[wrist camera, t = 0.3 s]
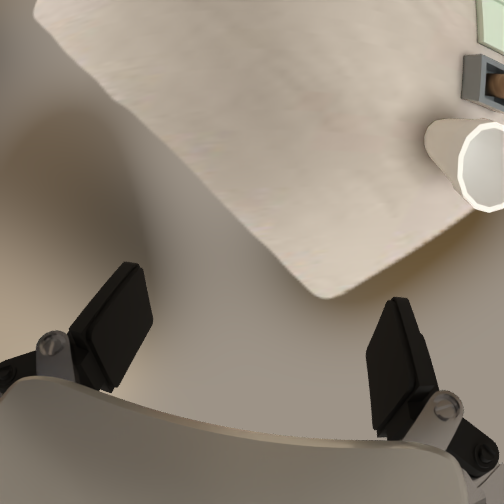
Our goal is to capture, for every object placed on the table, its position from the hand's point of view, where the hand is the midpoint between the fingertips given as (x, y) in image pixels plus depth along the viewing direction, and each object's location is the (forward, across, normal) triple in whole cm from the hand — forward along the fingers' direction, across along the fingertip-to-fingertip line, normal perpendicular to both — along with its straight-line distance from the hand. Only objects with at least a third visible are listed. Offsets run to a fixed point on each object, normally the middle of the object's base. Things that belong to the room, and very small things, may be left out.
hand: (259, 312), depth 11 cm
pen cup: (+31, -25, -15) cm, 42 cm away
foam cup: (+31, -20, -5) cm, 37 cm away
